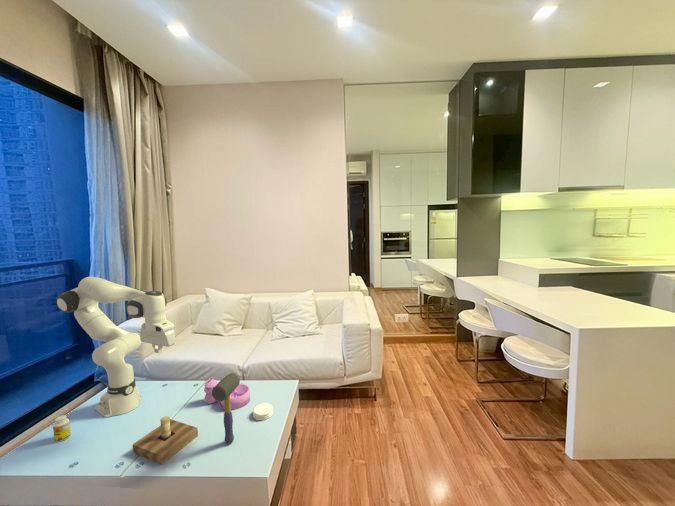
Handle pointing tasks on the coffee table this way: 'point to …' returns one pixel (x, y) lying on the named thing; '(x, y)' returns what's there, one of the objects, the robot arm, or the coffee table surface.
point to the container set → (237, 397)
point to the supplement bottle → (61, 428)
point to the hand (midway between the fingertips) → (158, 352)
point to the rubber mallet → (226, 402)
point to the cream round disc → (263, 411)
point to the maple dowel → (165, 428)
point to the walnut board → (165, 442)
